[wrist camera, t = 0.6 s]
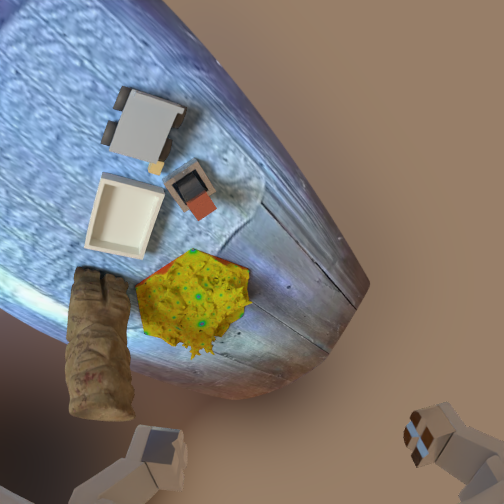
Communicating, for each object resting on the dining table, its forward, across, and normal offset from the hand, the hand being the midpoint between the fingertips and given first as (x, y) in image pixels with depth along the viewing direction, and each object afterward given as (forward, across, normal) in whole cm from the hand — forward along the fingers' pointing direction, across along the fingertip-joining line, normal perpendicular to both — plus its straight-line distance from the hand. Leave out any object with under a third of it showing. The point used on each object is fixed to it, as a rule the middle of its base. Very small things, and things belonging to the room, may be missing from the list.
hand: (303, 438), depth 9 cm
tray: (+46, +25, -1) cm, 52 cm away
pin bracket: (+49, +13, -6) cm, 51 cm away
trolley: (+43, +19, -17) cm, 50 cm away
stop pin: (+50, +13, -6) cm, 51 cm away
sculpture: (+48, +33, +14) cm, 60 cm away
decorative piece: (+59, +15, +22) cm, 65 cm away
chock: (+46, +18, -10) cm, 50 cm away
